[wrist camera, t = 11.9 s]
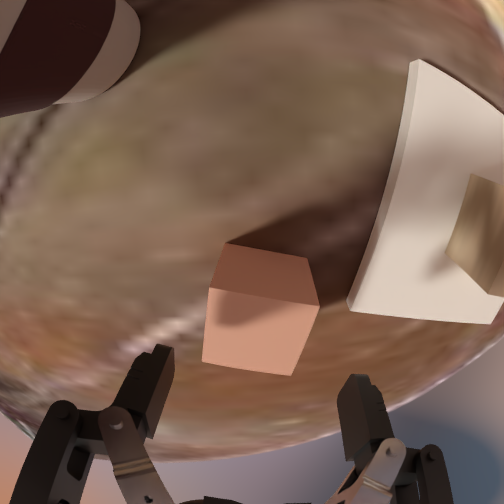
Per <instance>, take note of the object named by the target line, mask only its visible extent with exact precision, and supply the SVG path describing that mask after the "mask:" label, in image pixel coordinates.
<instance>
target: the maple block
mask: <svg viewBox="0 0 504 504" xmlns="http://www.w3.org/2000/svg"><path fill="white" fill-rule="evenodd" d="M445 254H446V255H447V256H448V257H449V258H451V259H452V260H453V261H454V262H455V263H456V264H457V265H458V266H459V267H460V268H461V269H463V270H464V271H465V272H466V273H467V274H468V275H469V276H470V277H471V278H472V279H473V280H474V281H475V282H476V283H477V284H478V285H479V286H480V287H481V288H482V289H483V290H484V291H485V292H486V293H487V294H488V295H494V296H499V297H504V186H503V185H500V184H498V183H495V182H493V181H490V180H488V179H485V178H482V177H480V176H477V175H474V174H470V177H469V181H468V185H467V189H466V192H465V196H464V199H463V202H462V206H461V209H460V212H459V215H458V218H457V221H456V224H455V226H454V229H453V232H452V235H451V237H450V240H449V243H448V245H447V248H446V250H445Z"/></svg>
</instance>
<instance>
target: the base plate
mask: <svg viewBox="0 0 504 504" xmlns="http://www.w3.org/2000/svg"><path fill="white" fill-rule="evenodd" d="M470 174H474V175H477V176H480V177H482V178H485V179H488V180H490V181H493V182H495V183H498V184H500V185H503V186H504V115H503V114H502V113H500V112H499V111H498V110H497V109H496V108H494V107H493V106H492V105H491V104H489V103H488V102H487V101H485V100H484V99H483V98H481V97H480V96H479V95H477V94H476V93H474V92H473V91H472V90H470V89H469V88H467V87H466V86H464V85H463V84H461V83H460V82H458V81H457V80H455V79H454V78H452V77H450V76H449V75H447V74H445V73H444V72H442V71H440V70H439V69H437V68H435V67H433V66H432V65H430V64H428V63H426V62H424V61H422V60H420V59H418V60H415V61H413V62H410V65H409V74H408V81H407V88H406V95H405V101H404V107H403V113H402V118H401V123H400V128H399V133H398V138H397V142H396V147H395V151H394V155H393V160H392V164H391V168H390V172H389V175H388V179H387V183H386V187H385V190H384V194H383V197H382V201H381V204H380V207H379V211H378V214H377V217H376V220H375V223H374V226H373V229H372V232H371V235H370V238H369V241H368V244H367V247H366V250H365V253H364V255H363V258H362V261H361V264H360V266H359V269H358V272H357V274H356V277H355V279H354V282H353V284H352V287H351V289H350V292H349V294H348V297H347V299H346V301H347V304H348V306H349V309H350V311H355V312H363V313H371V314H379V315H388V316H397V317H406V318H416V319H427V320H438V321H450V322H463V323H478V324H491V323H492V321H493V319H494V317H495V316H496V314H497V312H498V310H499V309H500V307H501V305H502V303H503V301H504V297H499V296H494V295H488V294H487V293H486V292H485V291H484V290H483V289H482V288H481V287H480V286H479V285H478V284H477V283H476V282H475V281H474V280H473V279H472V278H471V277H470V276H469V275H468V274H467V273H466V272H465V271H464V270H463V269H461V268H460V267H459V266H458V265H457V264H456V263H455V262H454V261H453V260H452V259H451V258H449V257H448V256H447V255H446V254H445V250H446V248H447V245H448V243H449V240H450V237H451V235H452V232H453V229H454V226H455V224H456V221H457V218H458V215H459V212H460V209H461V206H462V202H463V199H464V196H465V192H466V189H467V185H468V181H469V177H470Z"/></svg>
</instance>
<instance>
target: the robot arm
mask: <svg viewBox="0 0 504 504" xmlns="http://www.w3.org/2000/svg"><path fill="white" fill-rule="evenodd" d="M174 371H175V365H174V348H173V347H169V346H165V345H161V344H156V346H155V348H154V350H153V352H152V354H150V353H146V352H143V353H142V354H140V355H139V356H138V357H137V358H135V360H134V362H133V364H132V366H131V369H130V370H129V372H128V374H127V377H126V378H125V380H124V382H123V384H122V386H121V388H120V390H119V392H118V394H117V396H116V398H115V400H114V402H113V403H112V405H111V406H110V407H107V408H105V409H104V410H102V411H88V410H80V409H77V408H76V406H75V405H74V404H73V403H71V402H69V401H66V400H60V401H56V402H55V403H53V404H52V405H51V406H50V408H49V410H48V412H47V414H46V416H45V418H44V420H43V422H42V424H41V426H40V428H39V430H38V432H37V434H36V437H35V439H34V441H33V443H32V446H31V448H30V450H29V452H28V455H27V457H26V459H25V462H24V464H23V467H22V469H21V472H20V474H19V477H18V480H17V482H16V485H15V488H14V491H13V494H12V497H11V500H10V503H9V504H80V500H81V497H82V493H83V489H84V486H85V483H86V480H87V476H88V473H89V470H90V467H91V464H92V461H93V458H94V455H95V454H104V455H109V457H110V460H111V462H112V465H113V469H114V470H113V472H114V475H115V478H116V480H117V483H118V485H119V487H120V489H121V492H122V494H123V496H124V498H125V500H126V502H127V504H175V503H174V502H173V500H172V498H171V497H170V495H169V493H168V491H167V490H166V488H165V486H164V484H163V482H162V481H161V479H160V477H159V475H158V473H157V471H156V469H155V467H154V465H153V463H152V462H151V460H150V458H149V456H148V454H147V452H146V449H145V447H144V445H143V444H144V441H145V439H146V437H147V438H150V439H153V437H154V434H155V431H156V428H157V425H158V422H159V419H160V416H161V413H162V410H163V407H164V404H165V401H166V398H167V396H168V393H169V390H170V387H171V384H172V381H173V378H174ZM337 407H338V413H339V419H340V425H341V431H342V438H343V445H344V451H345V458H346V461H354V462H355V465H354V466H353V468H352V469H351V470H350V472H349V473H348V475H347V476H346V478H345V480H344V481H343V482H342V484H341V485H340V487H339V488H338V489H337V491H336V492H335V494H334V495H333V496H332V497H331V498H330V499H329V500H328V501H326V502H325V503H324V504H388V503H389V502H390V503H391V504H454V503H453V498H452V492H451V487H450V482H449V478H448V473H447V469H446V465H445V461H444V457H443V453H442V451H441V449H440V448H439V447H438V446H436V445H433V444H429V445H426V446H425V447H424V448H422V449H421V450H419V449H413V448H407V447H405V445H404V444H403V443H402V442H401V441H400V440H398V439H396V438H395V437H394V435H393V431H392V428H391V424H390V420H389V417H388V413H387V411H386V407H385V404H384V400H383V397H382V394H381V392H380V391H379V390H378V388H377V387H376V386H375V385H371V382H370V379H369V376H368V375H366V374H351V375H350V376H349V378H348V380H347V381H346V383H345V384H344V386H343V388H342V389H341V391H340V392H339V394H338V398H337ZM416 481H418V487H419V492H420V500H419V494H418V488H417V482H416ZM180 504H242V503H239V502H236V501H233V500H227V499H220V498H214V497H208V496H204V499H203V500H191V501H186V502H183V503H180ZM286 504H290V503H286ZM291 504H292V503H291ZM293 504H311V503H293Z"/></svg>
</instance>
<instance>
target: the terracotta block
mask: <svg viewBox="0 0 504 504" xmlns="http://www.w3.org/2000/svg"><path fill="white" fill-rule="evenodd" d="M319 308H320V305H319V301H318V297H317V293H316V289H315V285H314V282H313V278H312V274H311V270H310V267H309V263H308V259H307V258H304V257H298V256H293V255H288V254H282V253H277V252H272V251H266V250H261V249H256V248H250V247H245V246H239V245H234V244H228V243H225V245H224V248H223V250H222V253H221V256H220V259H219V262H218V264H217V267H216V270H215V273H214V276H213V278H212V281H211V284H210V287H209V295H208V304H207V313H206V323H205V333H204V344H203V355H202V362H207V363H212V364H217V365H222V366H228V367H233V368H239V369H245V370H252V371H259V372H266V373H274V374H282V375H292V372H293V370H294V368H295V366H296V363H297V361H298V359H299V357H300V354H301V352H302V350H303V347H304V345H305V342H306V340H307V338H308V335H309V333H310V330H311V328H312V325H313V323H314V320H315V318H316V315H317V313H318V310H319Z"/></svg>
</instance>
